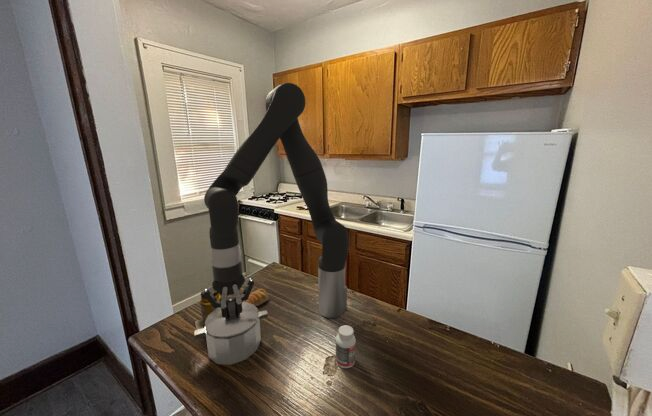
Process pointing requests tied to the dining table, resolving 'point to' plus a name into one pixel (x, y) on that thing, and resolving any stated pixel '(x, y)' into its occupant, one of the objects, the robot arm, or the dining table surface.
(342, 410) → the dining table surface
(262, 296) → the pastry
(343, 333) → the pill bottle
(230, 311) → the lid
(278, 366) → the dining table surface
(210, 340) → the pot
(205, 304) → the condiment
